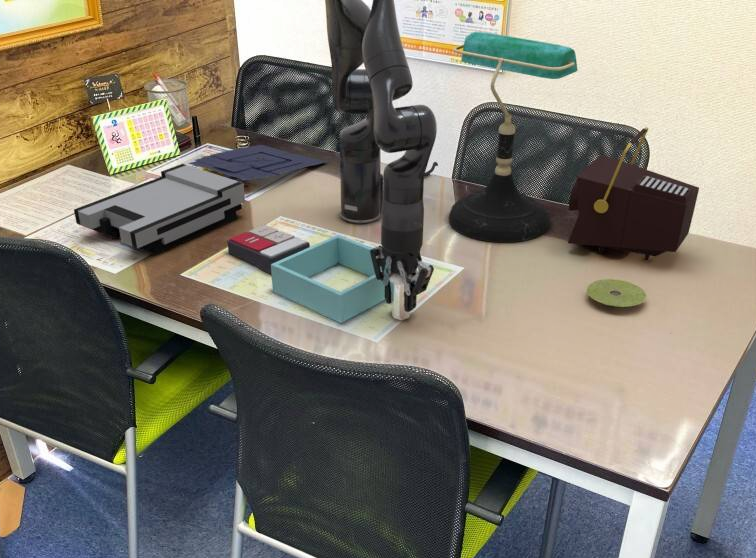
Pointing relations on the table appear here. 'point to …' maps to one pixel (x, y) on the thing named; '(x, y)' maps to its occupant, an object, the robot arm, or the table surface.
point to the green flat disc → (616, 293)
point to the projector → (630, 207)
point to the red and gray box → (265, 246)
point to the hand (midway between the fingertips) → (400, 305)
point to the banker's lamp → (507, 141)
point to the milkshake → (398, 297)
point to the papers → (255, 162)
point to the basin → (319, 297)
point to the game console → (165, 209)
